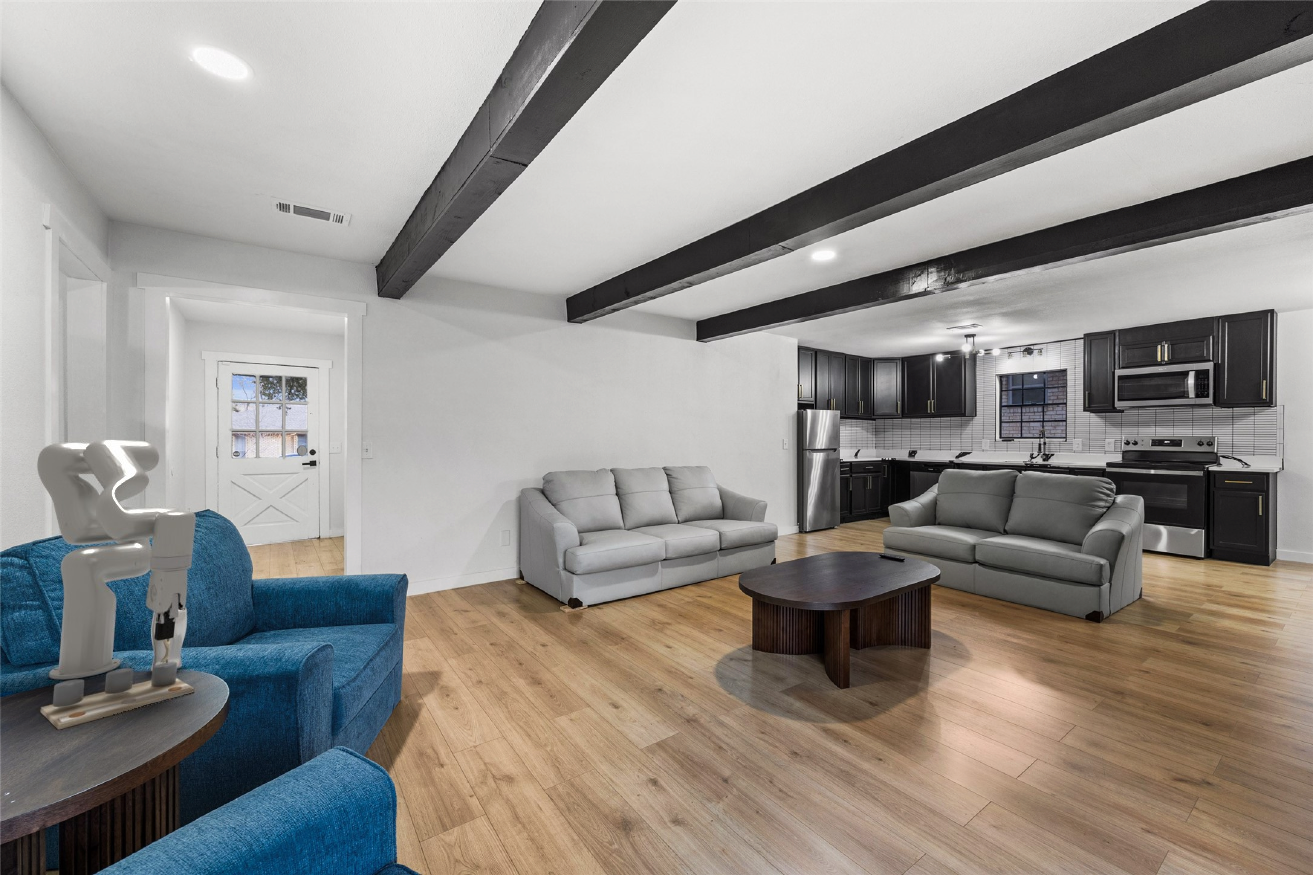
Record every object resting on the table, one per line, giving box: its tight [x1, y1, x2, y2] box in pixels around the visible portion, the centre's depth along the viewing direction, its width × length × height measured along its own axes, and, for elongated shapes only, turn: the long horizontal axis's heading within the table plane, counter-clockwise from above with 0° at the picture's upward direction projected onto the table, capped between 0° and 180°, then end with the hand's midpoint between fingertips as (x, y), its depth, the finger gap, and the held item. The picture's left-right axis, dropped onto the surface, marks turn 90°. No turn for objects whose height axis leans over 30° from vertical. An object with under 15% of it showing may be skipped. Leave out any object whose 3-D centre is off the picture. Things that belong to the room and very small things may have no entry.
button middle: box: [104, 667, 134, 694], centre depth 124 cm, size 4×4×4 cm
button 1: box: [52, 678, 85, 707], centre depth 118 cm, size 4×4×4 cm
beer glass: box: [150, 607, 188, 673], centre depth 144 cm, size 7×7×15 cm
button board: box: [40, 677, 195, 731], centre depth 123 cm, size 14×22×2 cm, turn 148°
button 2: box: [151, 662, 178, 686], centre depth 131 cm, size 4×4×4 cm
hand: (163, 638), depth 132 cm, fingers closed
